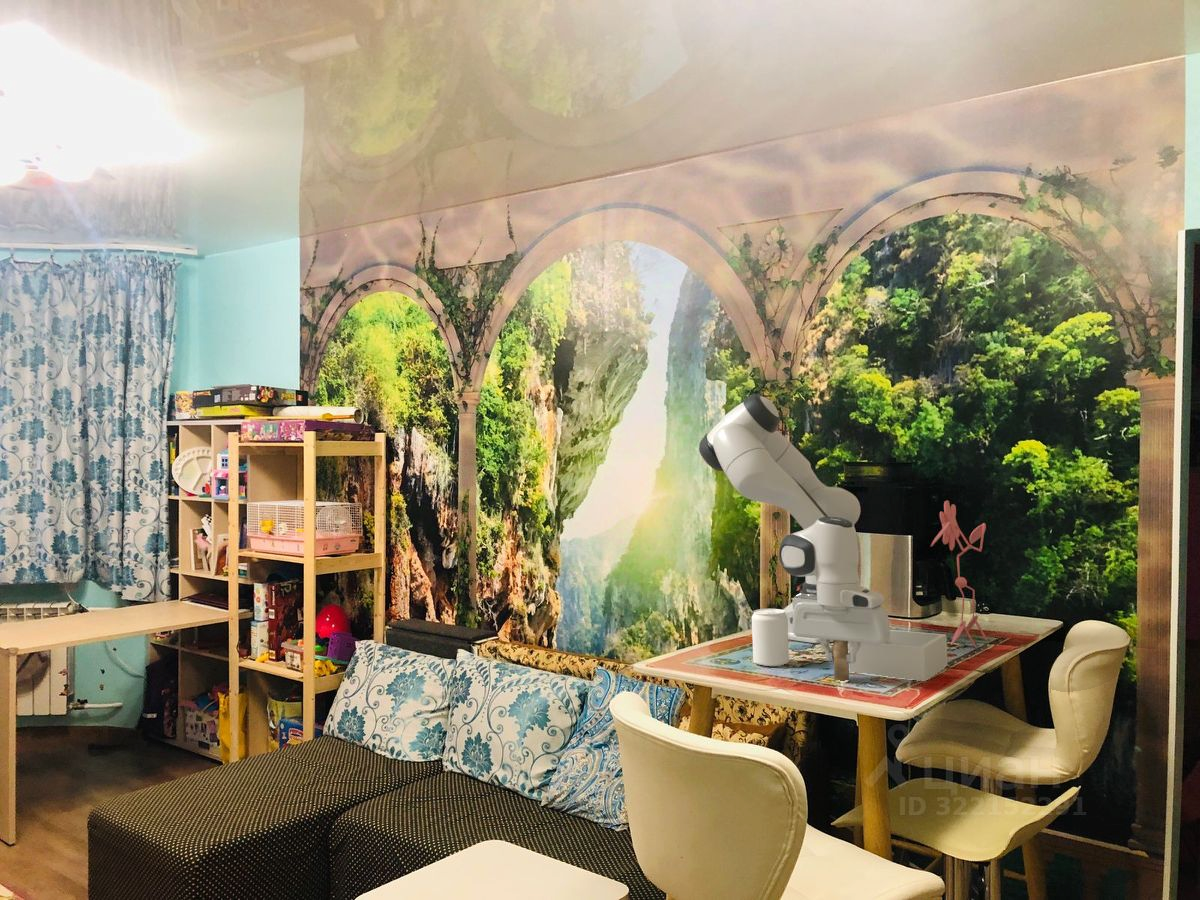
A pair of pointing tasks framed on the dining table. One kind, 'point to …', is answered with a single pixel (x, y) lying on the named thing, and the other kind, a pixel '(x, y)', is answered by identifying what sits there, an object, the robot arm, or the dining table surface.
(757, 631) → the beverage can
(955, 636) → the pink stick figurine
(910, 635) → the peg box
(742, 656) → the dining table surface
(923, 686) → the dining table surface
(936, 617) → the dining table surface
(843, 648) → the peg
